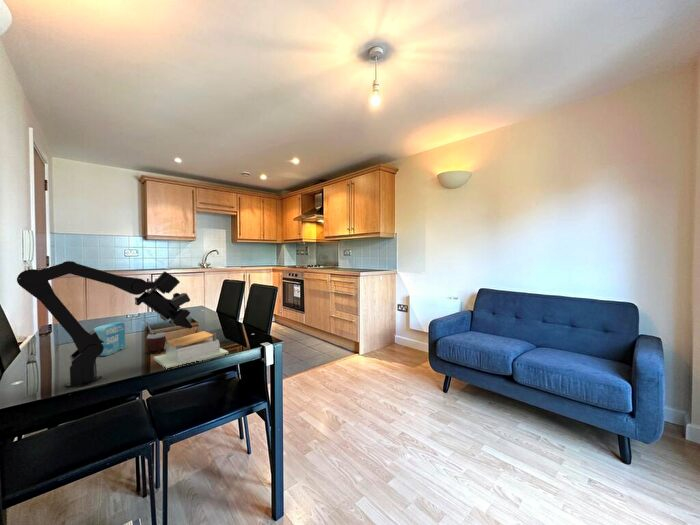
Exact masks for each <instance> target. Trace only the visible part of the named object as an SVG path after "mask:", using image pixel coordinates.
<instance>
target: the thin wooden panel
mask: <svg viewBox="0 0 700 525" xmlns="http://www.w3.org/2000/svg"><path fill="white" fill-rule="evenodd" d="M209 338H213V334H212V333H210V332H208V331H205V330H204V331H202V332H200V331H199V332H195V333H192V334H187V335H185V336H180V337H177V338H173V339H172V338H171V340H170V339H168V340H169V341H167V343H168V344H170V345H172V346H173V347H175V348H176V346H178V345H182V346H185V345H188V344H192V343H195V342H199V341H202V340H206V339H209Z"/></svg>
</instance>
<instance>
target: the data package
mask: <svg viewBox="0 0 700 525" xmlns="http://www.w3.org/2000/svg"><path fill="white" fill-rule="evenodd" d="M125 328H126V326H125V322H122V321H121V322H110V323H106V324H103V325H99V326H97V327H94V329H93V330H94V331H95V332H96V333H97V335H98V337H99V338H101V339H102V340H103V341H104V343H102V345H103V347H104V349H103V352H102V353H101V355H99V356H98V357H107V355H108V356H110V355H112V354H111V353H113V352H115V351H117V352H119V351H118V350H120V349H122V348H124V349H125V347H126V333H125V332H126V331H125V330H126V329H125ZM122 350H123V349H122ZM120 351H121V350H120ZM115 353H116V352H115ZM109 354H110V355H109ZM113 354H114V353H113Z"/></svg>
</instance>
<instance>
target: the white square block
mask: <svg viewBox="0 0 700 525" xmlns="http://www.w3.org/2000/svg"><path fill="white" fill-rule="evenodd" d="M202 331H205V330H204V328H203V327H201V328H200V329H199V332H202ZM211 334H213V338H209V339H206V340H202V341H199V342H195V343H192V344H188V345H185V346H182V345H178V346H176V348H175V347H173V346H172V345H170V344H168V343H167V341H169V340H172V338H171V339H166V342H165V354H166V355H167V356H169V357H170V358H172V359H173V360H174V361H176V362H177V363H181V362H185V361H189V360H193V359H197V358H201V357H205V356H209V355H213V354H217V353H220V348H221V347H220V346H221V345H220V340H219V339H217V333H216V332H213V333H211Z"/></svg>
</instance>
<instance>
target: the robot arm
mask: <svg viewBox="0 0 700 525" xmlns="http://www.w3.org/2000/svg"><path fill="white" fill-rule="evenodd" d="M66 275H74V276H76V277H77V276H78V277H81V278H85V279H88V280H93V281H96V282H99V283H102V284H107V285H110V286H113V287H115V288H118V289H119V290H121V291H124V292H125V293H128V294H131V295H135V296H137V297H134V305H136V306H140V305H141V304H142V303H143V304H145V305H146V306H147V307H148V308H150V309H151V310H152V311H153V312H155V313H157V314H158V315H159V318H160V319H161V320H163V321H164V322H166V321H168V320H169V321H168V323H169V324H171V325H174V326H176V327H182V328H187V329H192V328H193V325H192V324H191V323H190V322H189V320H188V316H189V315H191V311H190V310H188V309H186V308H181V306H183V305H184V304H186V303H189V302H190V301H191V299H190V297H189V295H188V293H187V292H186V293H185V292H183V293H179V292H175V293H173V294H172V298H171V299H170V298H169V299H168V298H166V297H165V296H164V295H165V294H168V295H169V294H170V293H171V292H172V291H173V290H175V288H177V287H178V285H179V284H180V282H181V281H180V280H179V279H178V278H177V277H175V276H173V275H172V274H171V273H169V272H167V271H163V272H161V274H160V275H159V276H158V277H156V279H155V280H154V281H146V280H145V279H143V278H138V277H131V276H124V275H118V274H114V273H111V272H106V271H103V270H100V269H97V268H94V267H91V266H86V265H83V264H80V263H77V262H76V261H73V260H66V261H63V262H62V263H59V264H55V265H52V266H50V267H49V266H48V267H46V268H42V269H35V268H34V269H33V268H31V269H26V270H25V269H24V270H23V271H21V272H20V273H19V274H18V275H17V278H16V282H17V284H18V285H19V286H20V287H21V288H22V289H24V290H25V291H26V292H28V293H29V294H30V295H31V296H33V297H34V298H35V299H37V300H38V301H39V302H41V303H42V305H43V306H44V307H45V308H46V310H48V311H49V313H50V314H51V315H52V317H53V318H54V319H55V320H56V321H57V322H58V323H59V325H60V326H61V327H62V328H63V329H64V330H65V332H67V333H68V335H69V337H70V338H71V339H72V342H73V343H74V345H75V347H76V350H75V351H74V352H73V353H72V354H71V355H69V361H70V363H71V365H70V366H69V382H68V383H66V384H65V385H64V387H65V388H69V387H72V388H73V387H84V386H89V385H91V384H93V383H95V382H97V381H98V380H100V379H101V378H102V375H99V376H98V375H97V371H98V370H97V358H98V357H100V356H99V355H101V353H102V352H103V349H104V347H103V345H102V343H104V341H103V340H102V339H101V338H99V337H98V335H97V333H96V332H95V331H94V329H92V330H90V332H89V331H88V330H87V329H85V328H84V327H83V326H82V325H81V323H80V322H79V321H78V320H77V319H76V317H75V316H74V315H73V313H71V311H70V310H69V309H68V308H67V307H66V306H65V304H64V302H62V300H61V299H60V298H59V297H58V296H57V294H56V293H55V291H54V289H53V288H52V286H51V283H50V282H49V281H51V280H54V279H57V278H60V277H64V276H66ZM161 293H162V294H161ZM138 295H139V296H138Z"/></svg>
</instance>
